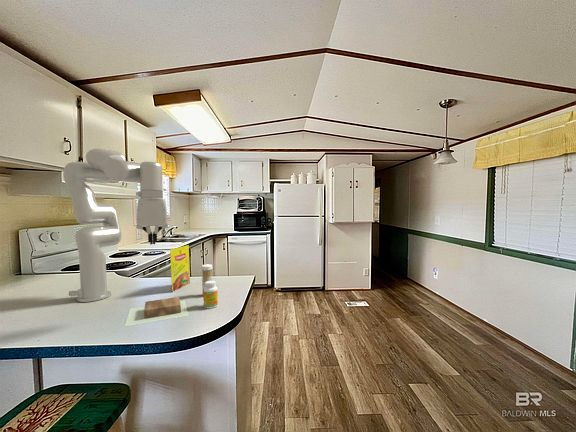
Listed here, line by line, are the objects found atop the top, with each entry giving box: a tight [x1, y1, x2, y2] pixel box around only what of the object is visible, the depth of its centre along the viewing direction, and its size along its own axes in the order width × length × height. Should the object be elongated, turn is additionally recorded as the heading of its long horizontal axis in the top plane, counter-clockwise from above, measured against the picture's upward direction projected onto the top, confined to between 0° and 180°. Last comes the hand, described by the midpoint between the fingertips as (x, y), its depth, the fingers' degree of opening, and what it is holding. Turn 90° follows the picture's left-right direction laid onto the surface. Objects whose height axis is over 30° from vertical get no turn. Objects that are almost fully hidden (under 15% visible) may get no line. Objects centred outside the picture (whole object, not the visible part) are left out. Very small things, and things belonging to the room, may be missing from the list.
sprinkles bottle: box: [201, 263, 213, 297], centre depth 123 cm, size 5×5×13 cm
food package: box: [169, 244, 191, 293], centre depth 135 cm, size 15×1×20 cm, turn 168°
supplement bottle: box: [203, 280, 219, 309], centre depth 109 cm, size 5×5×10 cm
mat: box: [124, 299, 189, 327], centre depth 103 cm, size 20×18×1 cm
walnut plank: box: [144, 296, 181, 319], centre depth 104 cm, size 3×10×12 cm
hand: (152, 243), depth 104 cm, fingers closed
